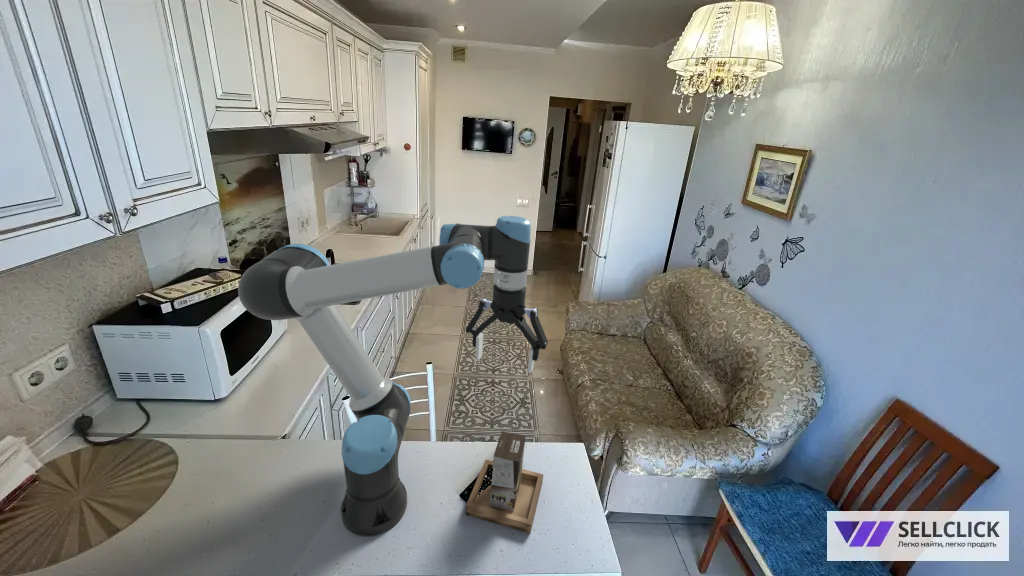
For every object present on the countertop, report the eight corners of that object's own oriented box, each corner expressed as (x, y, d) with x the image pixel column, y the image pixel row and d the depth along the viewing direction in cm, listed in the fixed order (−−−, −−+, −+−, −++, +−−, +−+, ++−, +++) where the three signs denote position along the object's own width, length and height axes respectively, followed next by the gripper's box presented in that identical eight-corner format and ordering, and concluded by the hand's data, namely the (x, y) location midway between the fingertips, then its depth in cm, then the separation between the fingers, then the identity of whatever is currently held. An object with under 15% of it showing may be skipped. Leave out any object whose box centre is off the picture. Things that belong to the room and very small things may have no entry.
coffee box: (514, 512, 99) (519, 462, 93) (489, 506, 100) (492, 456, 94) (521, 482, 107) (526, 435, 101) (498, 477, 108) (501, 429, 102)
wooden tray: (465, 514, 99) (465, 505, 97) (485, 467, 112) (485, 459, 111) (530, 533, 95) (531, 524, 94) (542, 482, 109) (543, 474, 108)
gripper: (452, 281, 92) (451, 360, 100) (559, 301, 86) (549, 384, 94) (466, 270, 99) (464, 346, 107) (566, 289, 92) (556, 367, 101)
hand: (504, 364), depth 101 cm, fingers open, 13 cm apart
